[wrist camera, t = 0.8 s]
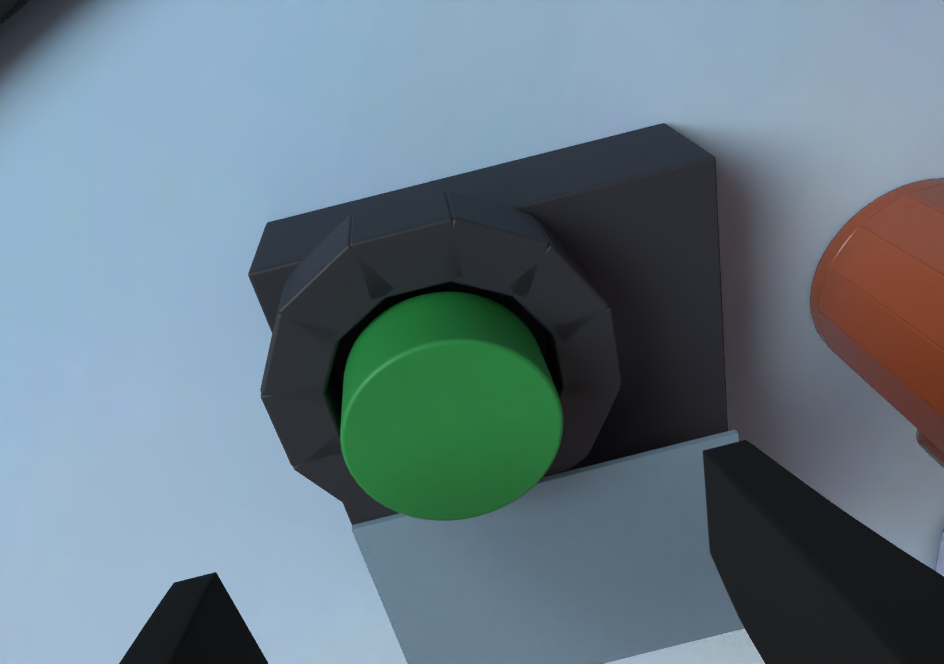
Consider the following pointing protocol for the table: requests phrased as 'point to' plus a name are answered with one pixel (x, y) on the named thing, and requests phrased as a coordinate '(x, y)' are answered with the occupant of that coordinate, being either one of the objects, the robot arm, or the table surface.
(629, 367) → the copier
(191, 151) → the table surface
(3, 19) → the mouse mat
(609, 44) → the table surface
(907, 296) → the mug
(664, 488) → the plate
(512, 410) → the button
